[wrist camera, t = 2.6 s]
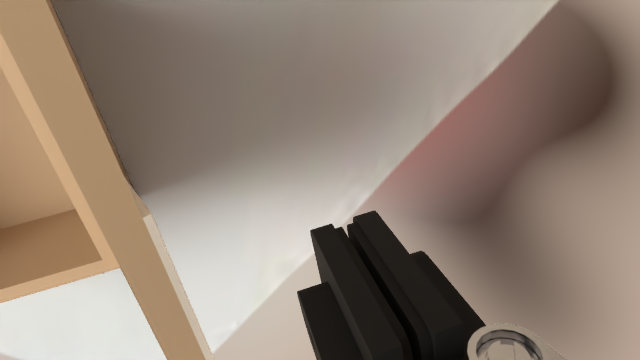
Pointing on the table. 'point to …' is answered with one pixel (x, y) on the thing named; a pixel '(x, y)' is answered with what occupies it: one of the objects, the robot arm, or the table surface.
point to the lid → (102, 177)
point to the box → (42, 195)
